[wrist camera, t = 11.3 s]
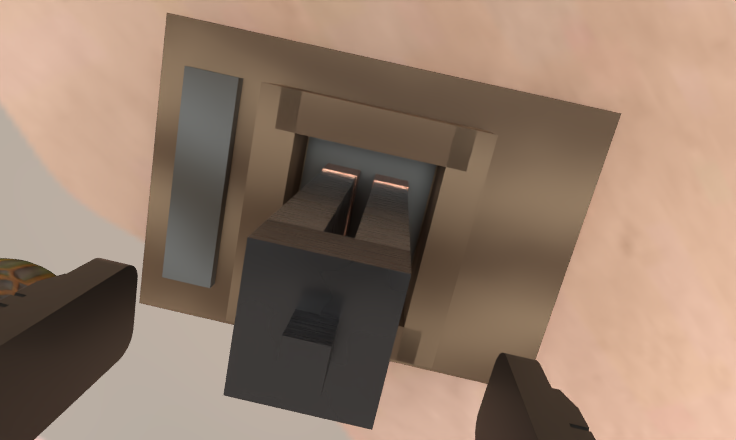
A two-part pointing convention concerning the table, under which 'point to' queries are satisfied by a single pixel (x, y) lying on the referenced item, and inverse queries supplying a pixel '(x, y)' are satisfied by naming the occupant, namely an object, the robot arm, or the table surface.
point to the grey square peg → (323, 300)
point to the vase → (19, 275)
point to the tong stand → (370, 183)
